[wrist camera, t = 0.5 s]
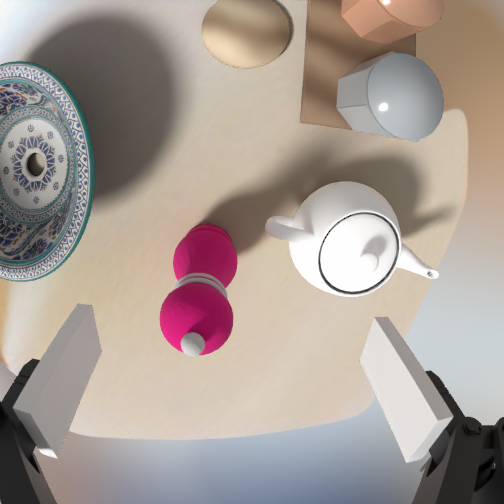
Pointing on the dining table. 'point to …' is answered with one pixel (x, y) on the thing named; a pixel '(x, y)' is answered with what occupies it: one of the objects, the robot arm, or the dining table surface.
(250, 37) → the coaster
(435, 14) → the peach faceted canister
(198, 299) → the pepper mill
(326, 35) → the board
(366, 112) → the grey faceted canister
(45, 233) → the bowl
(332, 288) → the teapot
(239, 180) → the dining table surface
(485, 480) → the robot arm
